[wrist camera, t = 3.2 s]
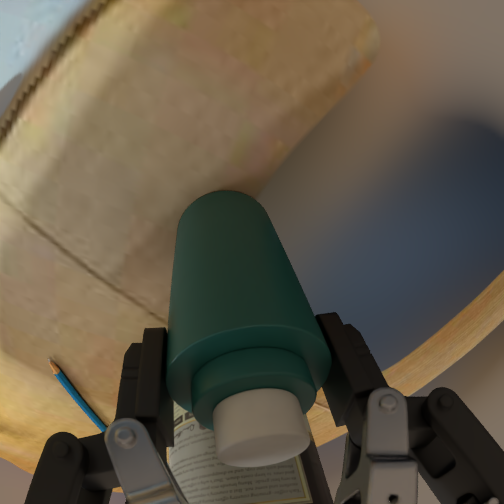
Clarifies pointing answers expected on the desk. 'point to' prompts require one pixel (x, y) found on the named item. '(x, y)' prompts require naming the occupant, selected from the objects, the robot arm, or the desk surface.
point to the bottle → (241, 333)
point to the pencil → (76, 396)
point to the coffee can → (241, 471)
